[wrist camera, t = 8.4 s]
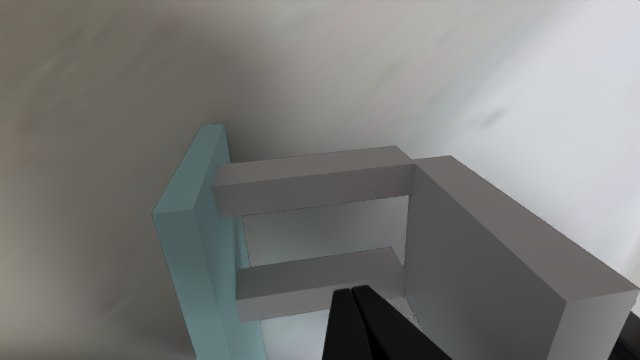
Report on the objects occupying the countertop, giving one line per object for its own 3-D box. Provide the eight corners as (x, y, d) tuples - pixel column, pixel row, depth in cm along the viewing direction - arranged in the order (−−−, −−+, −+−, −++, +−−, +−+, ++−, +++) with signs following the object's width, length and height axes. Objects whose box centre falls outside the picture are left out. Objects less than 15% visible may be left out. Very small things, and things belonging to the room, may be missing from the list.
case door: (399, 106, 13) (653, 261, 5) (387, 346, 19) (489, 607, 11) (202, 125, 12) (68, 359, 4) (253, 370, 18) (247, 678, 10)
